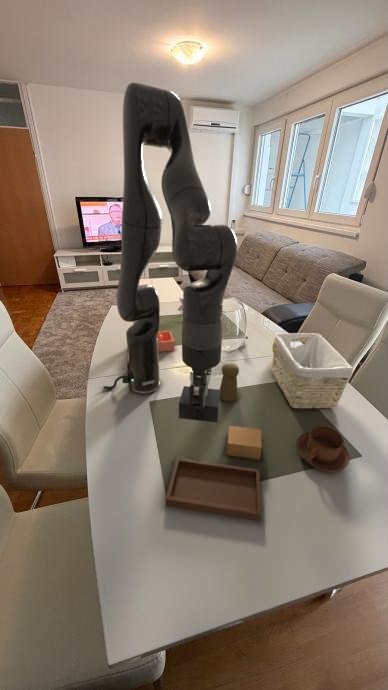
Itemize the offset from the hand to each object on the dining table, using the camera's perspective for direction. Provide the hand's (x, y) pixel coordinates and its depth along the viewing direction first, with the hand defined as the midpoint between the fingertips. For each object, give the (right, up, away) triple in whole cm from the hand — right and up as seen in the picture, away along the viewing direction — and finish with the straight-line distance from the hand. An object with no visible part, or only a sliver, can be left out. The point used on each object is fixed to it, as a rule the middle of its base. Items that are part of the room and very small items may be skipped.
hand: (199, 408), depth 64 cm
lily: (-4, +28, +88) cm, 92 cm away
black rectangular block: (0, -1, 0) cm, 1 cm away
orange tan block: (+11, -12, +11) cm, 20 cm away
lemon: (+32, +9, +53) cm, 62 cm away
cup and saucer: (+30, -14, +10) cm, 34 cm away
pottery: (-19, +13, +57) cm, 62 cm away
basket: (+34, -1, +35) cm, 49 cm away
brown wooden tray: (+3, -18, +1) cm, 18 cm away
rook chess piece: (+18, +14, +61) cm, 65 cm away
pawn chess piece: (+10, -2, +30) cm, 32 cm away
